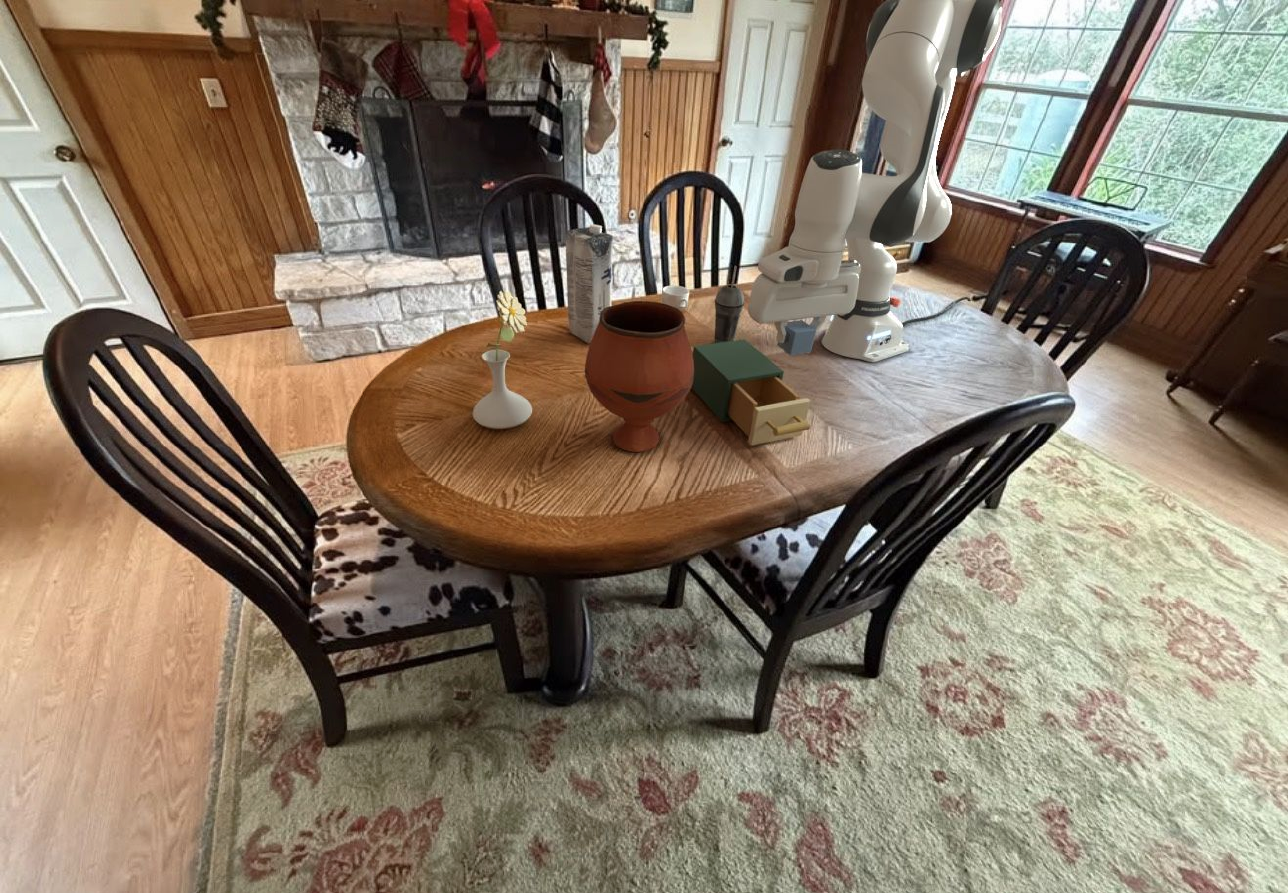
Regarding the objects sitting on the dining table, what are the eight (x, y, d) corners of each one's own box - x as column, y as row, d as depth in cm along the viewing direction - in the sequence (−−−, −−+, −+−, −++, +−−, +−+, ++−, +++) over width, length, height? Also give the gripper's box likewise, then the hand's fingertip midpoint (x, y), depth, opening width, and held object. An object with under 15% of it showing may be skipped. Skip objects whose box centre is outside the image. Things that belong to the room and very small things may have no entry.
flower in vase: (504, 441, 102) (488, 314, 87) (461, 421, 107) (439, 297, 92) (550, 411, 111) (542, 291, 97) (508, 394, 116) (495, 277, 101)
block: (796, 342, 102) (801, 320, 99) (810, 352, 99) (816, 329, 96) (776, 345, 100) (781, 322, 98) (790, 355, 97) (795, 332, 95)
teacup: (655, 305, 160) (657, 287, 157) (677, 301, 163) (679, 283, 160) (674, 318, 153) (676, 299, 150) (697, 313, 156) (699, 295, 153)
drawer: (814, 446, 104) (823, 412, 99) (762, 458, 100) (770, 422, 96) (762, 398, 118) (769, 366, 113) (715, 406, 114) (720, 373, 109)
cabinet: (775, 411, 115) (784, 371, 109) (722, 421, 111) (728, 380, 105) (738, 377, 127) (744, 339, 121) (689, 385, 123) (693, 346, 117)
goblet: (682, 413, 113) (694, 295, 98) (690, 470, 98) (706, 341, 83) (589, 410, 112) (587, 291, 98) (582, 468, 97) (579, 337, 82)
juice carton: (587, 347, 136) (585, 234, 120) (564, 332, 142) (559, 223, 126) (615, 338, 141) (617, 229, 125) (592, 324, 147) (591, 218, 131)
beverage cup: (705, 348, 139) (715, 269, 127) (713, 337, 144) (723, 260, 132) (733, 354, 136) (745, 274, 125) (740, 342, 142) (753, 265, 130)
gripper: (851, 253, 96) (831, 326, 104) (750, 260, 90) (737, 339, 98) (875, 264, 92) (853, 340, 100) (771, 273, 85) (756, 354, 93)
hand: (795, 339), depth 99 cm, fingers closed on block, 4 cm apart
